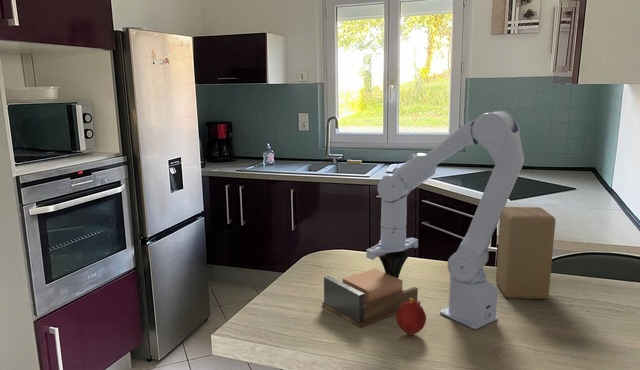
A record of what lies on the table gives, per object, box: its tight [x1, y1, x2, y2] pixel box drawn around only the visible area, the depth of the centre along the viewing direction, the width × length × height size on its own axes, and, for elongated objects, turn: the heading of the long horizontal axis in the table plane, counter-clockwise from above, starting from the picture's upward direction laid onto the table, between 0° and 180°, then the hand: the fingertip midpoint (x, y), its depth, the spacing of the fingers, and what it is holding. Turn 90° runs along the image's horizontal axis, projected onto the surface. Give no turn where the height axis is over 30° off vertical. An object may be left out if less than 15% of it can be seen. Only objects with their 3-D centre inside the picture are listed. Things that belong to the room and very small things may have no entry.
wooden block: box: [495, 206, 557, 300], centre depth 117 cm, size 10×10×20 cm
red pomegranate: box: [395, 298, 427, 336], centre depth 98 cm, size 6×6×8 cm
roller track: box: [321, 275, 421, 328], centre depth 112 cm, size 13×18×7 cm
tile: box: [342, 268, 403, 304], centre depth 112 cm, size 9×10×3 cm
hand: (392, 281), depth 115 cm, fingers closed
